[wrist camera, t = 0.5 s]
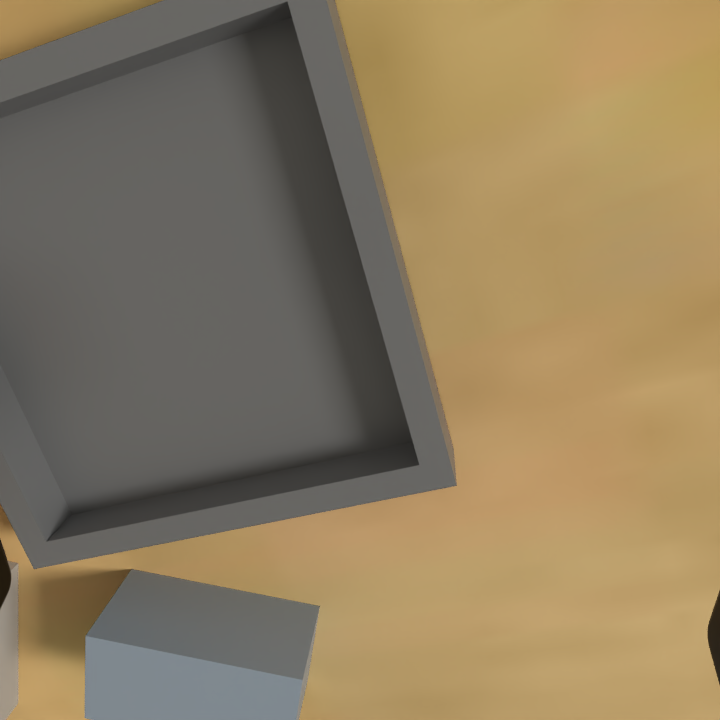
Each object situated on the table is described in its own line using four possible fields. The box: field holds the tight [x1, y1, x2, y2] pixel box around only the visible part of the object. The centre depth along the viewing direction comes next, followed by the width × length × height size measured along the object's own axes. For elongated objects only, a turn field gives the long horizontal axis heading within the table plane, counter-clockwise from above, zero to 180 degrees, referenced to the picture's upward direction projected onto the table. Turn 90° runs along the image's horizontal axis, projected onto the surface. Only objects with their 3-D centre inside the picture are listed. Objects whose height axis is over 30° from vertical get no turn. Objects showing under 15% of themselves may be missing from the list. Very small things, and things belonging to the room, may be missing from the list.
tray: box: [0, 0, 457, 569], centre depth 21 cm, size 16×16×3 cm
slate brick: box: [85, 569, 320, 720], centre depth 25 cm, size 8×4×4 cm, turn 81°
